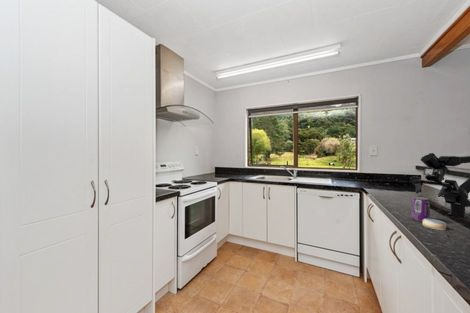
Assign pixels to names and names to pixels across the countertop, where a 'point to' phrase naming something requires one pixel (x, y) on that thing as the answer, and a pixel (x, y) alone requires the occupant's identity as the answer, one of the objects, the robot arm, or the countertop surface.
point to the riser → (434, 224)
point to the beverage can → (420, 208)
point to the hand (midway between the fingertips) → (427, 194)
